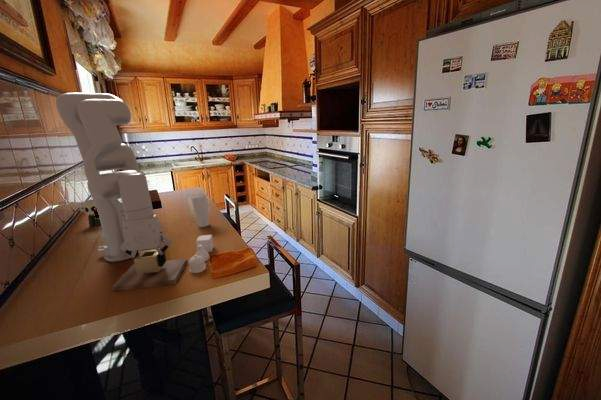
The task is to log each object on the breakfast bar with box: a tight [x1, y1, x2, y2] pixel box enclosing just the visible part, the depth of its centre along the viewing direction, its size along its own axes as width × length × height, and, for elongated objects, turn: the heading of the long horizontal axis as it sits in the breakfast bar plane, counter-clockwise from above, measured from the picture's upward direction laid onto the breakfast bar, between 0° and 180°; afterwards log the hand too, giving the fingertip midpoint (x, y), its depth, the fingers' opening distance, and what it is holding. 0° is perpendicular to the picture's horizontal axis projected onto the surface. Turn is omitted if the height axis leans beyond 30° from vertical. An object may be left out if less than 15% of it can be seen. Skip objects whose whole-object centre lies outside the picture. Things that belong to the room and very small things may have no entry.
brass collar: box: [133, 249, 162, 274], centre depth 91 cm, size 6×6×5 cm
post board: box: [111, 258, 188, 292], centre depth 91 cm, size 18×14×6 cm
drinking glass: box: [191, 193, 210, 228], centre depth 134 cm, size 7×7×15 cm
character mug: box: [78, 198, 101, 227], centre depth 146 cm, size 11×7×13 cm, turn 107°
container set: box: [188, 234, 215, 274], centre depth 101 cm, size 20×5×6 cm, turn 7°
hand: (151, 265), depth 91 cm, fingers closed on brass collar, 6 cm apart
